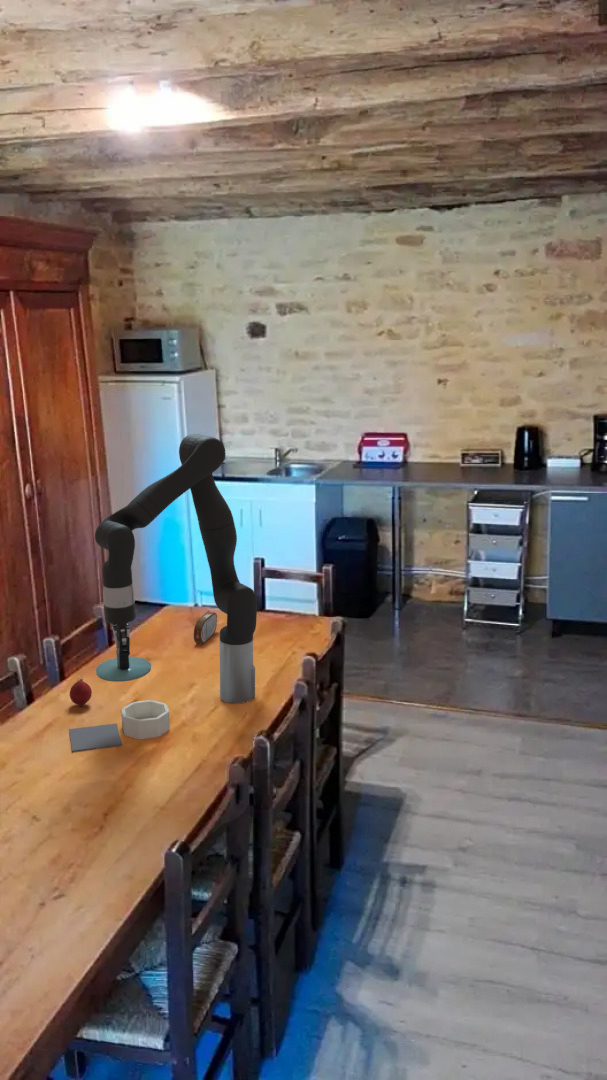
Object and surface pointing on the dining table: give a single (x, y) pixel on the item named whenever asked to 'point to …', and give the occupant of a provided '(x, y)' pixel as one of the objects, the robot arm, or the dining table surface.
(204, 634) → the tin
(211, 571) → the robot arm
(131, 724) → the bowl
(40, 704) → the dining table surface
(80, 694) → the onion
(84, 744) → the mat
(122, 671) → the lid
